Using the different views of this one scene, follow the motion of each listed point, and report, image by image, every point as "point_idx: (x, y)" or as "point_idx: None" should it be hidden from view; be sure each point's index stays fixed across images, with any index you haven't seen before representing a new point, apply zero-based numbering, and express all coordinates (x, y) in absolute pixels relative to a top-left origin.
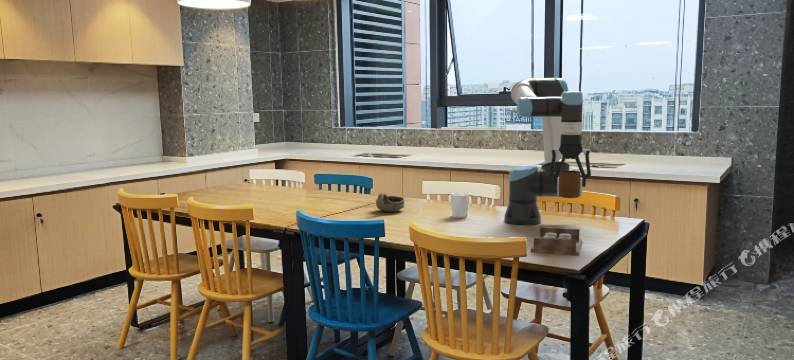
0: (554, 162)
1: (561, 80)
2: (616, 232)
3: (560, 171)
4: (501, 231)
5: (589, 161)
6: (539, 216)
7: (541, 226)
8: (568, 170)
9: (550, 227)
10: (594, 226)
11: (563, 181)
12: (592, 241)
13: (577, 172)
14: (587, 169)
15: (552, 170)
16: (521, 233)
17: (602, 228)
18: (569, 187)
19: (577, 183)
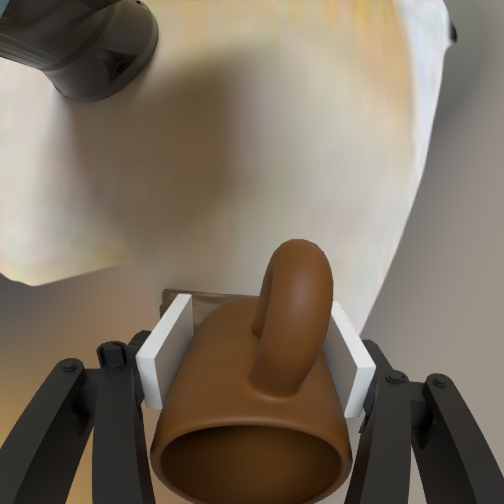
0: (64, 500)
1: None
2: (410, 137)
3: (162, 478)
4: (59, 209)
5: (499, 472)
6: (145, 40)
7: (162, 308)
8: (229, 424)
9: (194, 318)
10: (343, 56)
11: (210, 457)
12: (333, 279)
13: (316, 501)
14: (423, 466)
15: (80, 436)
16: (108, 219)
17: (369, 83)
18: (254, 438)
19: (308, 442)
